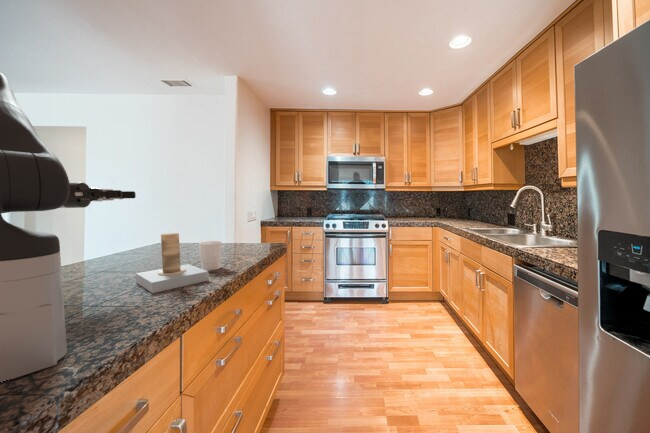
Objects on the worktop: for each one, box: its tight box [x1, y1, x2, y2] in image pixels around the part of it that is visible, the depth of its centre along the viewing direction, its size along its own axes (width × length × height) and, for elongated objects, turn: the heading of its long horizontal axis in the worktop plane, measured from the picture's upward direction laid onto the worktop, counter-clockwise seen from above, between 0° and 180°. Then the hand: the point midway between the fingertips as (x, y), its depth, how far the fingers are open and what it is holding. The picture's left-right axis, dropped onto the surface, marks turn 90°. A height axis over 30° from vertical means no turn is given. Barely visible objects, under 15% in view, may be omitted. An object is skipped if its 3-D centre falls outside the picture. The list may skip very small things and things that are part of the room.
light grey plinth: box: [135, 263, 210, 294], centre depth 88 cm, size 16×16×3 cm
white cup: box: [198, 240, 222, 272], centre depth 104 cm, size 8×8×10 cm
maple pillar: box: [160, 232, 181, 273], centre depth 87 cm, size 5×5×12 cm
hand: (128, 194), depth 84 cm, fingers open, 8 cm apart
